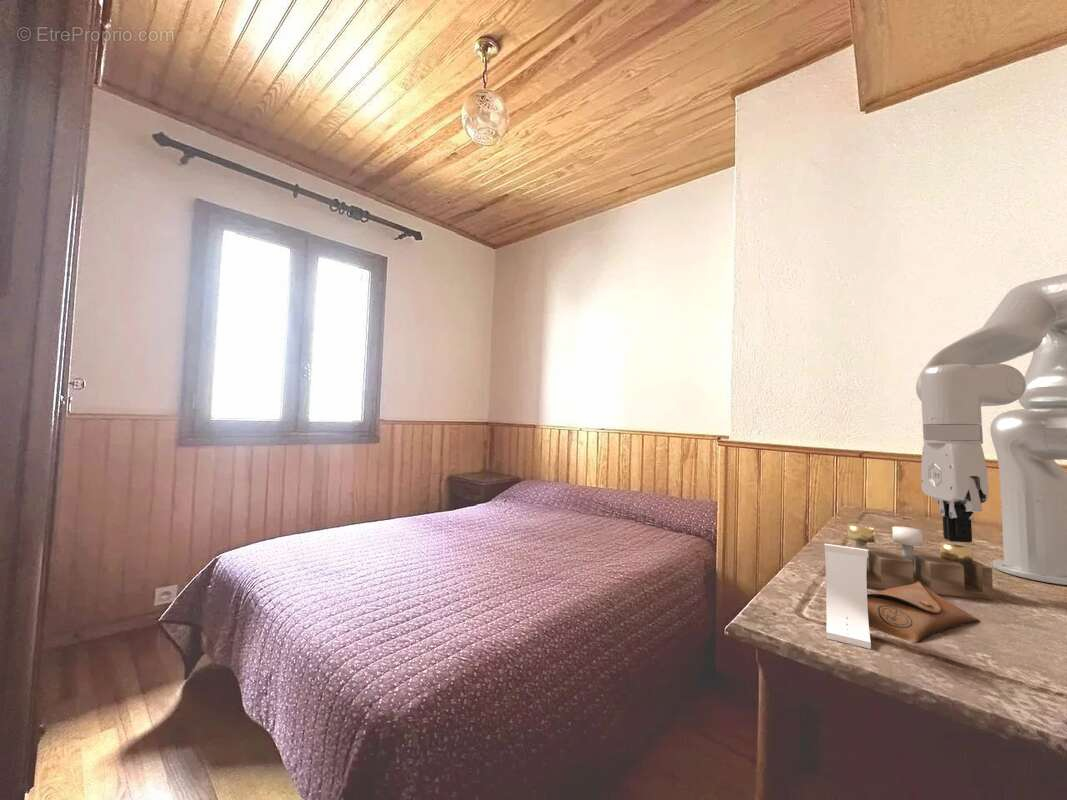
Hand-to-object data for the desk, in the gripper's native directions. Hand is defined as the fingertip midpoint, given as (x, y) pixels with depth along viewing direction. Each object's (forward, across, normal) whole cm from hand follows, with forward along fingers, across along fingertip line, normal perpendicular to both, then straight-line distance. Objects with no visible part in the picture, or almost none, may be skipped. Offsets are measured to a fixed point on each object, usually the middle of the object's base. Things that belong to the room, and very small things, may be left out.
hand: (957, 540), depth 75 cm
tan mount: (+8, 0, -8) cm, 11 cm away
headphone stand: (+8, +25, -26) cm, 37 cm away
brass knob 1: (+5, 0, -15) cm, 15 cm away
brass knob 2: (+7, 0, -1) cm, 7 cm away
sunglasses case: (+8, +17, -15) cm, 24 cm away
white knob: (+5, 0, -8) cm, 9 cm away
